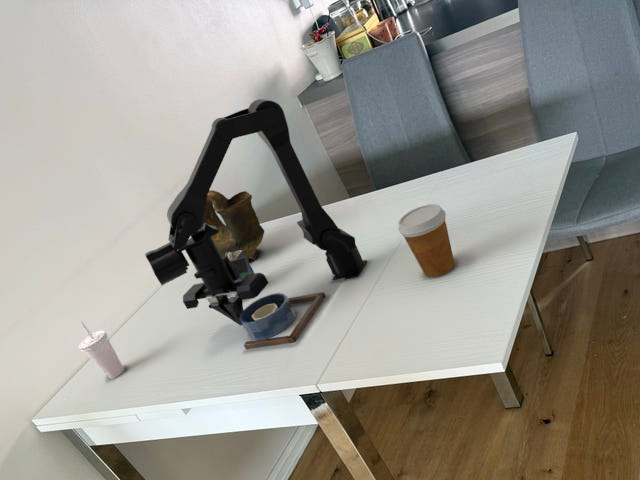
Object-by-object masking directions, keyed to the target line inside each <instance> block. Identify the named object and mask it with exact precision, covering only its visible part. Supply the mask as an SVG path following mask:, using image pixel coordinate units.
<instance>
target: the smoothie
mask: <svg viewBox="0 0 640 480" xmlns="http://www.w3.org/2000/svg"><path fill="white" fill-rule="evenodd" d="M79 323H80V325H81V327H82V328H83V329H84V331H85V332H86V334H87V336H86V337H84V339H82V340H81V342H80V343H79V344H78V348H79V349H80V351H81V352H84V353H85V354H86V356H87V357H88V358H89V359H91V361H92V362H93V363H94V364H95V365H96V366H97V367H98V368H99V369H100V370H101V371H102V372H103V373H104V374H105V375H106V376H107V377H108V378H109V379H115V378H117V377H119V376H120V375H121V374H123V373H124V372H125V368H124V366H123V364H122V362H121V360H120V358H119V357H118V355H117V353H116V351H115V349H114V347H113V345H112V344H111V341H110V339H109V338H108V336H109V335H108V334H107V332H106V331H105V330H98V331H95V332H93V333H92V332H91V331H90V330H89V329H88V327H87V326H86V325H85V323H84V322H82V321H81V322H79Z"/></svg>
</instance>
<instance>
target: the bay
mask: <svg viewBox="0 0 640 480" xmlns="http://www.w3.org/2000/svg"><path fill="white" fill-rule="evenodd" d="M287 298H288V300H289V301H290V303H291V305H297V304H305V303H310V302H311V304H310V305H309V307H308V308H307V310H306V311H305V312H304V314H303V315H302V317H301V318H300V320H299V321H298V323H297V324H296V326H295V327H294V328H293V330H292V331H291V333H290V334H289V335H283V336H277V337H269V338H267V339H262V340H249V341H245V342H244V344H243V347H244V348H245V350H250V349H258V348H264V347H265V348H266V347H271V346H272V347H273V346H281V345H286V344H294V343H295V342H296V341H297V340H298V338H299V337H300V334H302V332H303V331H304V330H305V328H306V326H307V325H308V323H309V322H310V320H311V319H312V317H313V316H314V314H315V313H316V311H317V310H318V309H319V307H320V306H321V304H322V303H323V301H324V299H325V298H326V294H325V292H324V291H321V292H317V293H310V294H304V295H300V296H293V297H287Z"/></svg>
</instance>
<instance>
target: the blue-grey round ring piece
mask: <svg viewBox="0 0 640 480" xmlns="http://www.w3.org/2000/svg"><path fill="white" fill-rule="evenodd" d="M288 298H289V297H288V296H287V295H286V294H285V293H281V292H276V293H270V294H267V295H265V296H262V297H260V298H258V299H256V300H254V301H252V302H251V303H250V304H249V305H247V306H246V307H245V308H243V312H242V313H241V314H240V318H239V319H240V321H241V323H242V325H241V326H242V327H243V328H244V330H245V331H246V333H247V335H248V337H249V339H251V340H253V341H255V340H262V339H269V338H273V337H275V336H276V335H278V334H280V333H282V332H283V331H285V330H286V329H287V328H289V327H290V326H291V325H292V324H293V322H294V321H295V319H296V315H297V314H296V311H295V309H294V307H293V306H292V305H291V303H290V301H289V300H288ZM273 303H275V304H276V305H277V306H278V308H279V309H277V310H276V311H275V312H274V313H272V314H270V315H268V316H267V317H265V318H262V319H260V320H257V321H254V320H253V318H252V315H253V314H254V312H255V311H256V310H257V309H259V308H261V307H263V306H265V305H267V304H273Z"/></svg>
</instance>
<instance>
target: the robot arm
mask: <svg viewBox="0 0 640 480" xmlns="http://www.w3.org/2000/svg"><path fill="white" fill-rule="evenodd" d="M252 134H257V135H258V137H259V138H260V139H261V140H262V141H263V142H264V144H265V145H266V146H267V147H268V148H269V149H270V152H271V153H272V155H273V158H274V159H275V161H276V163H277V165H278V168H279V169H280V171H281V174H282V175H283V177H284V179H285V182H286V184H287V186H288V187H289V189H290V191H291V193H292V196H293V197H294V199H295V202H296V203H297V206H298V207H299V210H300V212H301V220H298V221H296V223H297V226H298V227H299V228H300V229H301V231H302V235H303V238H304V239H305V240H306V241H308V242H309V243H310V244H311V245H313V246H314V245H315V246H316V247H317V248H319V249H320V250H322V251H326V252H325V253H324V255H325V257H326V258H325V260H326V263H327V265H328V267H329V269H330V271H331V273H332V275H333V277H332V281H338V280H342V279H344V280H348V279H353V278H358V277H359V276H360V275H361V273H362V271H363V270H364V268H365V267H366V266H367V264H368V260H367V259H364V260H363V258H362V255H361V253H360V251H359V248H358V247H357V244H356V238H355V237H354V236H353V235H352V234H350V233H348V232H347V231H345V230H344V229H342V228H339V227H338V226H337V224H336V223H335V221H334V220H333V219H332V217H331V216H330V215H329V213H327V211H326V210H325V209H324V208H323V206H322V205H321V204H320V201H319V199H318V197H317V195H316V192H315V191H314V188H313V186H312V185H311V183H310V180H309V178H308V176H307V174H306V172H305V170H304V168H303V166H302V163H301V162H300V159H299V157H298V155H297V153H296V152H295V149H294V146H293V144H292V142H291V137H290V130H289V125H288V122H287V118H286V115H285V112H284V109H283V108H282V106H281V105H280V104H279V103H278V102H275V101H273V100H269V99H264V98H259V99H255V100H254V101H253V102H251V103H250V105H249V106H248V107H247V108H244V109H242V110H238V111H235V112H234V113H231V114H229V115H226V116H223V117H218V118H216V119H214V120H213V122H212V123H211V128H210V131H209V133H208V136H207V138H206V141H205V143H204V145H203V147H202V149H201V151H200V154H199V156H198V159H197V161H196V163H195V165H194V167H193V170H192V172H191V174H190V177H189V178H188V181H187V183H186V184H185V186H184V187H183V188H182V189H181V190H180V191H179V193H178V194H177V195H176V197H175V198H174V200H173V201H172V202H171V204H170V205H169V207H168V209H167V212H166V217H167V221H168V223H169V231H168V232H169V233H168V242H167V243H166V244H163V245H161V246H159V247H158V248H156V249H151V250H150V251H147V252H145V253H144V255H145V258H146V259H147V261H148V264H149V265H150V267H151V269H152V272H153V274H154V276H155V277H156V279H157V281H158V282H159V284H160V285H161V286H164V285H166V284H168V283H170V282H172V281H174V280H175V279H177V278H179V277H181V276H183V275H185V274H187V273H188V271H187V270H189V268H188V267H189V266H190V263H189V261H188V260H187V258H186V256H185V255H184V251H185V252H186V254H187V256H188V258H189V260H190V261H191V263H192V265H193V267H194V268H195V270H196V271H195V273H194V274H193V276H194V277H195V279H196V280H198V279H201V281H202V282H201V283H195V284H193V285H192V286H191V287H190V288H189V289H188V290H187V291H186V292H185V293H184V294H183V295H182V303H183V304H184V306H185V307H186V310H189V309H197V307H198V306H199V300H202V299H205V300H207V302H208V304H209V305H208V308H209V309H213V310H214V311H216V312H218V313H219V314H222V315H223V316H225V317H227V318H228V319H230V320H231V321H233V322H234V323H235V324H237V325H239V326H243V325H242V323H241V321H240V319H239V318H240V314H241V313H242V312H243V310H244V301H245V300H252V299H255V298H257V297H258V296H259V295H260V294H261V292H263V290H265V288H266V287H267V286H268V284H269V280H268V278H267V277H266V275H265V274H264V273H262V272H256V273H255V272H254V273H255V274H250V275H246V276H245V278H244V279H243V280H242V281H240V282H235V280H238V279H239V278H240V275H239V274H241V273H244V272H246V273H247V272H249V271H248V267H247V263H246V259H245V258H239V259H234V260H229V259H228V258H227V257H222V256H221V254H220V253H219V251H218V249H217V247H216V245H215V243H214V241H213V240H212V238H211V236H213V235H215V234H217V233H218V232H219V230H218V229H217V228H216V227H215V226H212V225H208V224H207V223H204V224H203V228H202V229H201V230H199V229H200V227H201V224H202V220H203V216H204V212H205V206H206V199H207V195H208V192H209V191H211V188H212V185H213V183H214V181H215V178H216V176H217V174H218V172H219V169H220V167H221V166H222V163H223V161H224V159H225V156H226V154H227V152H228V149H230V146H231V143H232V142H233V140H234V139H237V138H240V137H244V136H249V135H252ZM198 230H199V231H198Z"/></svg>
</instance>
